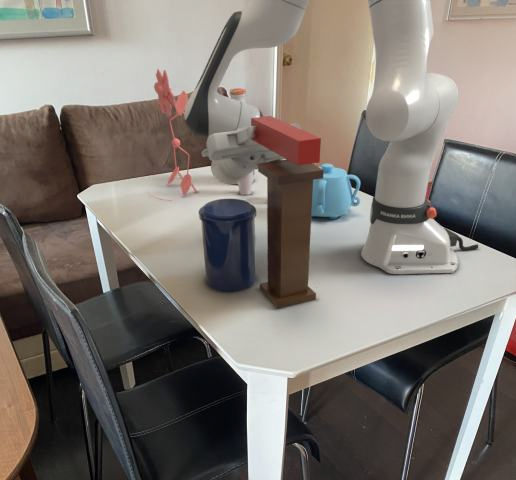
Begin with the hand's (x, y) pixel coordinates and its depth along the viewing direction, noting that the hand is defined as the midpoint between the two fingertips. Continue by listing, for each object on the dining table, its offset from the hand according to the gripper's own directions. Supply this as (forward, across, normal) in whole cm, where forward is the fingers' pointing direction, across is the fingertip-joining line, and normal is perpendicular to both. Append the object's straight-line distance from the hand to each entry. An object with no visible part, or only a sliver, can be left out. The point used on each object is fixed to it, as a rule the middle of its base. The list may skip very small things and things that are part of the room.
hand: (267, 128), depth 97 cm
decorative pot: (-40, +31, +14) cm, 53 cm away
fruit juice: (-73, +20, -5) cm, 76 cm away
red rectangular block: (+5, 0, +6) cm, 8 cm away
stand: (-7, 0, +32) cm, 33 cm away
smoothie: (-62, +17, +1) cm, 64 cm away
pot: (-17, -9, +27) cm, 33 cm away
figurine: (-72, -4, -5) cm, 73 cm away
